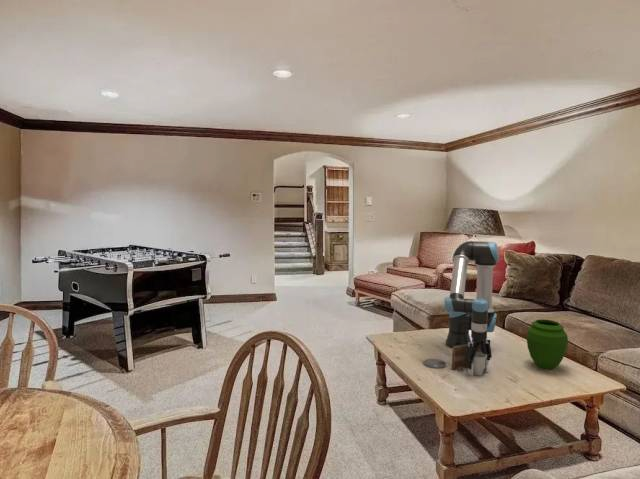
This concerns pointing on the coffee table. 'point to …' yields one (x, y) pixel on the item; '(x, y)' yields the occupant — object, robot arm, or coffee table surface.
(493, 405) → the coffee table surface
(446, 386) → the coffee table surface
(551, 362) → the vase
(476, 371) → the cup
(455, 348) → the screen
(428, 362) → the coaster
